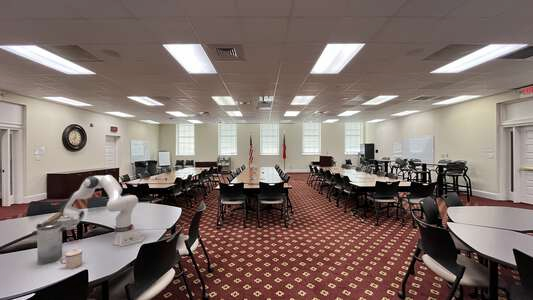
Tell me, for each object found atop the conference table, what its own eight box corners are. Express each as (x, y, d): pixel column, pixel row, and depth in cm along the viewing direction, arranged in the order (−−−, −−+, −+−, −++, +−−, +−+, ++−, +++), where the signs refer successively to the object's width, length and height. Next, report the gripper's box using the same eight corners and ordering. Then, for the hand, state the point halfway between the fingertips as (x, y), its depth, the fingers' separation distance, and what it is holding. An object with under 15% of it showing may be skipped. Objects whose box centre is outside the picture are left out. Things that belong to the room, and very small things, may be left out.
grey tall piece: (68, 253, 177) (68, 216, 176) (62, 261, 164) (62, 222, 163) (38, 258, 169) (37, 220, 168) (29, 267, 156) (28, 226, 155)
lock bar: (63, 214, 188) (63, 209, 188) (50, 225, 163) (50, 219, 163) (58, 215, 186) (58, 209, 186) (44, 226, 162) (44, 219, 161)
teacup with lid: (83, 260, 166) (83, 244, 165) (81, 266, 158) (81, 249, 158) (61, 265, 159) (60, 248, 159) (58, 271, 151) (58, 254, 151)
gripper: (51, 219, 195) (45, 215, 184) (81, 216, 204) (77, 211, 194) (49, 227, 193) (43, 223, 182) (80, 223, 202) (76, 219, 191)
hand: (61, 217), depth 188 cm, fingers open, 8 cm apart
